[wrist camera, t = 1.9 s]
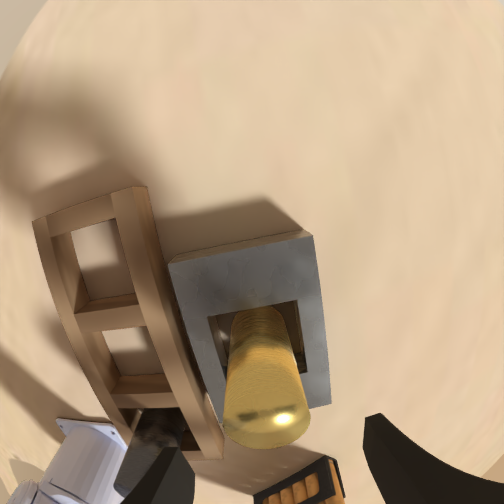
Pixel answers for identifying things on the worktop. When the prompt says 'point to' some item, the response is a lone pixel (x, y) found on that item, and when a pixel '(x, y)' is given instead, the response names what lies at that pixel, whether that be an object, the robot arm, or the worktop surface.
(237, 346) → the brass round bar
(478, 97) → the worktop surface
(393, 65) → the worktop surface
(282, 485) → the ammunition clip
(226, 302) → the steel socket
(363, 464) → the worktop surface
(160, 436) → the black round bar
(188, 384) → the walnut rack
